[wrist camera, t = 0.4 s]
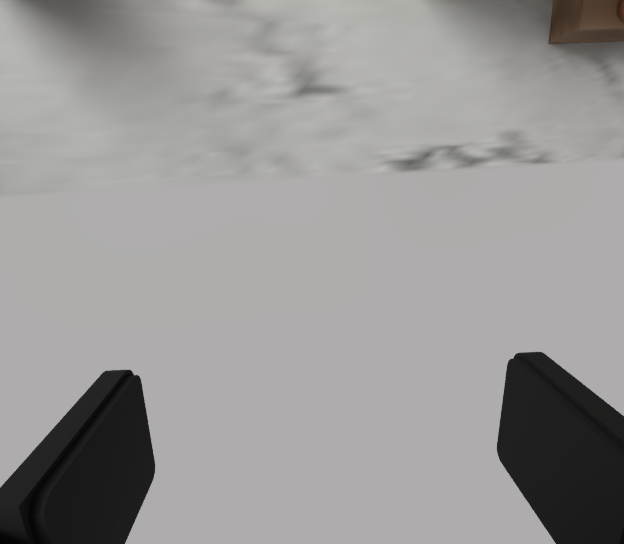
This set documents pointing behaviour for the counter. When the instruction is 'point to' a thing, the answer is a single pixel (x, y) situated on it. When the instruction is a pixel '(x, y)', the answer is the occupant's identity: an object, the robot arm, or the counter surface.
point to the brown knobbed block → (587, 21)
